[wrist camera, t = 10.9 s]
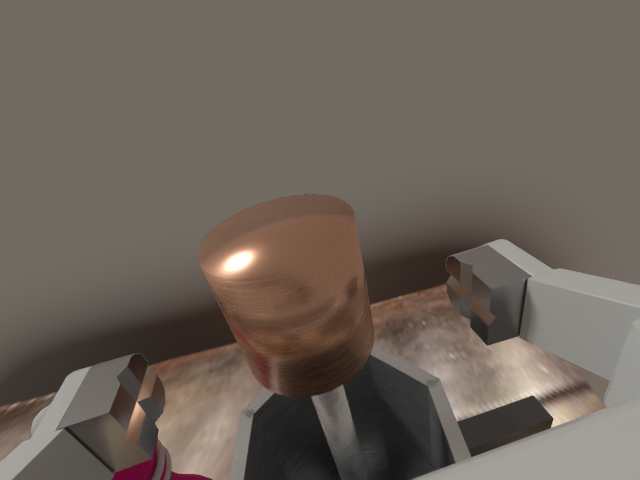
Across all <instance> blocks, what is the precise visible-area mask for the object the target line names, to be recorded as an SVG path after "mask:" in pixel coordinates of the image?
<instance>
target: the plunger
mask: <svg viewBox="0 0 640 480" xmlns="http://www.w3.org/2000/svg"><path fill="white" fill-rule="evenodd" d="M197 258H198V262H199V264H200V266H201V268H202V270H203V272H204V274H205V276H206V279H207V281H208V283H209V285H210V287H211V289H212V291H213V293H214V295H215V297H216V299H217V301H218V303H219V305H220V307H221V309H222V312H223V314H224V316H225V318H226V320H227V322H228V324H229V326H230V328H231V330H232V332H233V334H234V336H235V338H236V340H237V343H238V345H239V347H240V349H241V351H242V353H243V355H244V357H245V359H246V361H247V363H248V365H249V367H250V369H251V371H252V373H253V375H254V377H255V378H256V380H257V381H258V382H259V383H260V384H261V385H262V386H263V387H265V388H266V389H268V390H270V391H272V392H274V393H276V394H279V395H282V396H288V397H312V400H313V403H314V406H315V408H316V411H317V414H318V417H319V420H320V422H321V425H322V428H323V431H324V433H325V436H326V439H327V442H328V444H329V447H330V450H331V453H332V455H333V458H334V461H335V464H336V466H337V469H338V472H339V475H340V477H341V480H369V478H368V475H367V471H366V467H365V464H364V460H363V456H362V452H361V449H360V445H359V441H358V438H357V434H356V430H355V427H354V423H353V419H352V416H351V412H350V408H349V405H348V401H347V397H346V394H345V390H344V386H343V384H344V383H346V382H347V381H349V380H350V379H351V378H352V377H354V376H355V375H356V374H357V373H358V372H359V371H360V370H361V369H362V367H363V366H364V364H365V363H366V362H367V360H368V358H369V356H370V354H371V351H372V349H373V345H374V327H373V321H372V315H371V309H370V303H369V298H368V293H367V286H366V280H365V274H364V269H363V263H362V257H361V251H360V245H359V240H358V234H357V227H356V222H355V216H354V212H353V209H352V208H351V206H350V205H349V204H347V203H346V202H345V201H343V200H341V199H339V198H336V197H332V196H327V195H316V194H305V195H294V196H288V197H282V198H278V199H273V200H270V201H267V202H263V203H260V204H258V205H255V206H252V207H250V208H247V209H245V210H243V211H241V212H239V213H237V214H235V215H233V216H231V217H229V218H228V219H226V220H224V221H223V222H222V223H220V224H219V225H218V226H216V227H215V228H214V229H213V230H212V231H210V232H209V233H208V234H207V236H206V237H205V238H204V239H203V241H202V242H201V244H200V246H199V248H198V253H197Z"/></svg>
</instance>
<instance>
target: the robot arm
mask: <svg viewBox="0 0 640 480" xmlns="http://www.w3.org/2000/svg"><path fill="white" fill-rule="evenodd" d="M446 270H448V272H449V273H451V276H450V278H449V280H448V281H447V293H448V296H449V299H450V302H451V304H452V305H453V307H454V309H455V310H456V311H457V312H458V313H459V314H460V315H461V316H464V317H466V318H469V319H471V326H470V327H471V328H472V329H473V330H474V331H475V333H476V334H477V335H478V336H479V337H480V338H481V339H482V340H483V341H484V343H485V344H486V345H487V346H488V345H491V344H494V343H498V342H501V341H504V340H507V339H511V338H514V337H517V336H520V337H519V338H521V339H523V340H525V341H528V342H530V343H532V344H534V345H536V346H538V347H540V348H542V349H544V350H546V351H549V352H551V353H553V354H555V355H557V356H559V357H561V358H563V359H565V360H567V361H570V362H572V363H574V364H576V365H578V366H580V367H582V368H584V369H587V370H589V371H591V372H593V373H595V374H597V375H599V376H601V377H603V378H606V379H607V380H609V381H610V383H609V386H608V388H607V391H606V394H605V397H604V404H605V405H606V406H607V408H605V409H602V410H599V411H596V412H594V413H591V414H588V415H586V416H583V417H580V418H577V419H575V420H572V421H569V422H566V423H564V424H561V425H558V426H555V427H553V428H550V429H547V430H545V431H542V432H539V433H536V434H534V435H531V436H528V437H525V438H523V439H520V440H517V441H514V442H512V443H509V444H506V445H504V446H501V447H498V448H495V449H493V450H490V451H487V452H484V453H482V454H479V455H476V456H473V457H471V458H468V459H465V460H463V461H460V462H457V463H454V464H452V465H449V466H446V467H443V468H441V469H438V470H435V471H432V472H430V473H427V474H424V475H422V476H419V477H416V478H413V479H411V480H640V286H639V285H635V284H630V283H626V282H621V281H616V280H612V279H607V278H602V277H598V276H593V275H588V274H584V273H579V272H575V271H570V270H565V269H560V268H559V269H556V270H553V269H551V268H550V267H548V266H546V265H545V264H543V263H541V262H540V261H539V260H537V259H536V258H534V257H532V256H531V255H529V254H528V253H526V252H525V251H523V250H521V249H520V248H518V247H517V246H515V245H514V244H512V243H511V242H509V241H507V240H503V239H500V240H496V241H493V242H491V243H487V244H485V245H483V246H480V247H477V248H474V249H471V250H467V251H464V252H461V253H458V254H454V255H451V256H449V257H448V258H447V261H446ZM147 366H148V362H147V360H146V359H145V358H144V357H143V355H142V354H136V353H135V354H131V355H128V356H125V357H121V358H118V359H114V360H111V361H107V362H104V363H100V364H97V365H94V366H91V367H88V368H84V369H80V370H77V371H74V372H73V373H71V374H70V375H68V376H67V377H66V379H65V381H64V383H63V384H62V386H61V388H60V389H59V391H58V393H57V394H56V396H55V398H54V400H53V401H52V403H51V405H50V407H49V408H48V410H47V412H46V413H45V415H44V417H43V419H42V420H41V422H40V424H39V425H38V427H37V429H36V431H35V432H34V434H33V436H32V438H31V439H29V440H27V441H24V442H22V443H21V444H20V445H19V446H18V447H17V448H16V449H14V450H13V451H12V452H11V453H10V454H9V455H8V456H7V457H6V458H5V459H4V460H3V461H1V462H0V480H111V479H112V478H113V477H114V474H113V473H115V472H118V471H121V470H123V469H126V468H129V467H131V466H134V465H137V464H140V463H142V462H145V461H148V460H150V459H152V456H153V452H154V448H155V444H156V439H157V435H158V431H159V430H158V428H157V427H156V425H155V424H154V423H155V422H156V421H157V419H158V418H159V417H160V415H161V414H162V413H163V409H164V405H165V390H164V387H163V384H162V381H161V380H160V378H159V377H158V375H157V374H155V373H152V372H149V371H147Z"/></svg>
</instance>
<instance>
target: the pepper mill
mask: <svg viewBox="0 0 640 480" xmlns="http://www.w3.org/2000/svg"><path fill="white" fill-rule="evenodd" d="M49 407H50V405H49V406H47V407H46V408H44V409H43V410H41V411H40V412H39V414H38V415H37V416H36V417H35V419H34V421H33V423H32V428H31V433H32V436H33V434H34V432H35V431H36V429H37V427H38V425H39V424H40V422H41V420H42V419H43V417H44V415H45V413H46V412H47V410H48V408H49ZM154 424H155V423H154ZM155 425H156V424H155ZM171 465H172V464H171V458H170V454H169V452H168V450H167V449H166V448H165V447H164V446H163V445H162V443H161V442H160V441H159V440H158V436H157V439H156V444H155V448H154V452H153V456H152V459H150V460H148V461H145V462H142V463H140V464H137V465H134V466H131V467H129V468H126V469H123V470H121V471H118V472H115V473H113V474H114V477H113V478H112V479H111V480H212V479H210V478H207V477H204V476H201V475H196V474H177V473H175V472H172V471H171Z"/></svg>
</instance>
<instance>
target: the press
mask: <svg viewBox="0 0 640 480" xmlns="http://www.w3.org/2000/svg"><path fill="white" fill-rule="evenodd" d="M343 386H344V390H345V394H346V397H347V401H348V405H349V408H350V412H351V416H352V419H353V423H354V427H355V430H356V434H357V438H358V441H359V445H360V449H361V452H362V456H363V460H364V464H365V467H366V471H367V475H368V478H369V480H411V479H413V478H416V477H419V476H422V475H424V474H427V473H430V472H432V471H435V470H438V469H441V468H443V467H446V466H449V465H452V464H454V463H457V462H460V461H463V460H465V459H468V458H471V457H473V456H476V455H479V454H482V453H484V452H487V451H490V450H493V449H495V448H498V447H501V446H504V445H506V444H509V443H512V442H514V441H517V440H520V439H523V438H525V437H528V436H531V435H534V434H536V433H539V432H542V431H545V430H547V429H550V428H551V425H552V422H553V418H552V416H551V415H550V414H549V413H548V412H547V411H546V410H545V408H544V407H543V406H542V405H541V404H540V403H539V402H538V401H537V399H536V398H535V397H534V396H530V397H528V398H525V399H522V400H519V401H516V402H513V403H511V404H508V405H505V406H502V407H499V408H496V409H494V410H491V411H488V412H485V413H482V414H479V415H476V416H474V417H471V418H468V419H465V420H462V421H459V422H457V421H456V418H455V416H454V413H453V411H452V408H451V406H450V404H449V401H448V399H447V396H446V394H445V391H444V389H443V386H442V384H441V382H440V379H439V378H437V377H435V376H433V375H431V374H429V373H427V372H425V371H424V370H422V369H420V368H418V367H416V366H414V365H412V364H410V363H408V362H406V361H404V360H402V359H400V358H399V357H397V356H395V355H393V354H391V353H389V352H387V351H385V350H383V349H381V348H379V347H377V346H376V345H373V349H372V351H371V354H370V356H369V358H368V360H367V362H366V363H365V364H364V366H363V367H362V369H361V370H360V371H359V372H358V373H357V374H356V375H355V376H354V377H352V378H351V379H350V380H349V381H347V382H346V383H344V384H343ZM229 480H341V477H340V475H339V472H338V469H337V466H336V464H335V461H334V458H333V455H332V453H331V450H330V447H329V444H328V442H327V439H326V436H325V433H324V431H323V428H322V425H321V422H320V420H319V417H318V414H317V411H316V408H315V406H314V403H313V400H312V397H288V396H282V395H279V394H276V393H274V392H272V391H270V390H268V389H266V388H265V389H264V390H262V391H261V392H260V393H259V394H258V395H257V396H256V397H255V398H254V399H253V400H252V401H251V402H250V403H249V404H248V405H247V406H246V407H245V408H244V409H243V410H242V412H241V417H240V423H239V428H238V434H237V439H236V445H235V450H234V456H233V462H232V467H231V473H230V478H229Z"/></svg>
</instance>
